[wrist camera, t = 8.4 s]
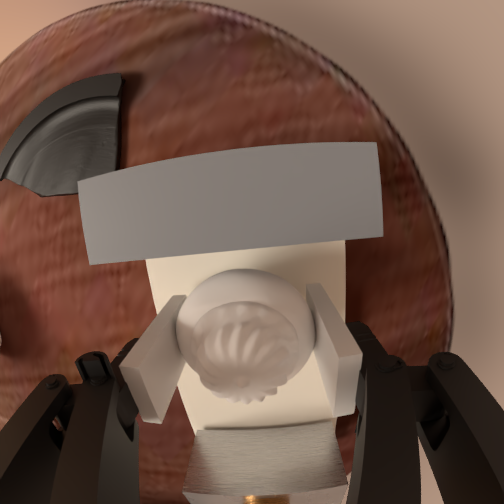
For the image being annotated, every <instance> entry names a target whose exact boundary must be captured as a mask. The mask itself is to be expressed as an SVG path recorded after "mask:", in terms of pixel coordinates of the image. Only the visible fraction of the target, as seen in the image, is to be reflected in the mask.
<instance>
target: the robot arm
mask: <svg viewBox="0 0 504 504" xmlns="http://www.w3.org/2000/svg"><path fill="white" fill-rule="evenodd" d="M186 299H187V297H186V295H173V296H172V297H171V298H170V299H169V301H168V302H167V303H166V305H165V306H164V307H163V308H162V310H161V311H160V312H159V314H158V315H157V316H156V317H155V319H154V320H153V321H152V323H151V324H150V325H149V327H148V328H147V329H146V331H145V332H144V333H143V335H142V336H141V337H140V338H134V339H133V340H131V341H130V342H128V343H127V344H126V345H125V346H124V347H123V349H122V351H120V352H119V354H118V356H116V357H115V359H114V360H113V361H112V362H111V364H110V362H109V359H108V357H107V355H106V354H105V353H103V352H100V351H94V352H89V353H86V354H84V355H82V356H80V357H79V358H78V359H77V360H76V361H75V364H76V366H77V368H78V371H79V373H80V375H81V377H82V379H83V383H82V384H73V385H69V383H68V381H67V379H66V377H65V376H64V375H61V374H53V375H49V376H48V377H46V378H45V379H43V380H42V381H41V382H40V383H39V385H38V386H37V387H36V388H35V389H34V390H33V392H32V393H31V394H30V395H29V396H28V397H27V399H26V400H25V401H24V402H23V403H22V405H21V406H20V407H19V408H18V410H17V411H16V412H15V413H14V415H13V416H12V417H11V418H10V420H9V421H8V422H7V423H6V425H5V426H4V427H3V429H2V430H1V431H0V504H140V498H139V471H138V444H139V426H138V423H137V421H136V419H135V418H136V416H137V414H138V412H139V413H140V415H141V417H142V419H143V421H144V422H150V423H159V424H162V421H163V419H164V416H165V414H166V411H167V409H168V406H169V403H170V401H171V398H172V396H173V393H174V391H175V388H176V386H177V383H178V381H179V378H180V376H181V373H182V371H183V368H184V366H185V363H186V360H185V359H184V357H183V355H182V353H181V351H180V348H179V345H178V341H177V337H176V321H177V317H178V314H179V311H180V309H181V307H182V305H183V303H184V302H185V300H186ZM306 303H307V305H308V306H309V309H310V311H311V313H312V316H313V320H314V324H315V331H316V338H315V344H314V348H313V351H314V354H315V358H316V361H317V364H318V367H319V371H320V374H321V377H322V381H323V384H324V387H325V391H326V394H327V398H328V401H329V404H330V408H331V411H332V415H333V418H334V417H339V416H345V415H350V414H354V410H355V405H357V408H358V410H359V416H358V420H357V425H356V430H355V433H356V442H355V451H354V459H353V466H352V473H351V479H350V485H349V492H348V496H347V501H346V504H421V475H420V458H419V444H418V437H419V439H420V442H421V444H422V447H423V449H424V451H425V454H426V456H427V459H428V461H429V464H430V466H431V469H432V471H433V474H434V477H435V479H436V482H437V485H438V488H439V490H440V493H441V496H442V499H443V501H444V504H504V411H503V409H502V408H501V406H500V405H499V404H498V402H497V401H496V400H495V399H494V397H493V396H492V395H491V394H490V392H489V391H488V390H487V389H486V387H485V386H484V385H483V383H482V382H481V381H480V380H479V379H478V377H477V376H476V375H475V374H474V373H473V371H472V370H471V369H470V368H469V367H468V365H467V364H466V363H465V362H464V361H463V360H462V359H461V358H460V357H459V356H458V355H456V354H453V353H450V352H439V353H436V354H434V355H432V356H431V357H430V358H429V362H428V366H406V364H405V362H404V361H403V360H402V359H401V358H399V357H397V356H394V355H388V354H387V352H386V351H385V349H384V348H383V347H382V345H381V344H380V342H379V341H378V340H377V339H376V337H375V335H374V334H372V331H371V330H370V329H369V327H368V326H367V325H365V324H363V323H361V322H360V321H357V322H351V323H344V321H343V319H342V318H341V316H340V314H339V313H338V311H337V309H336V308H335V306H334V304H333V303H332V301H331V299H330V298H329V296H328V295H327V293H326V291H325V290H324V288H323V287H322V285H321V283H313V284H306ZM55 417H56V419H57V420H58V422H59V423H60V425H61V427H60V428H59V429H56V427H55V426H54V424H53V423H52V421H53V420H54V418H55Z"/></svg>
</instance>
